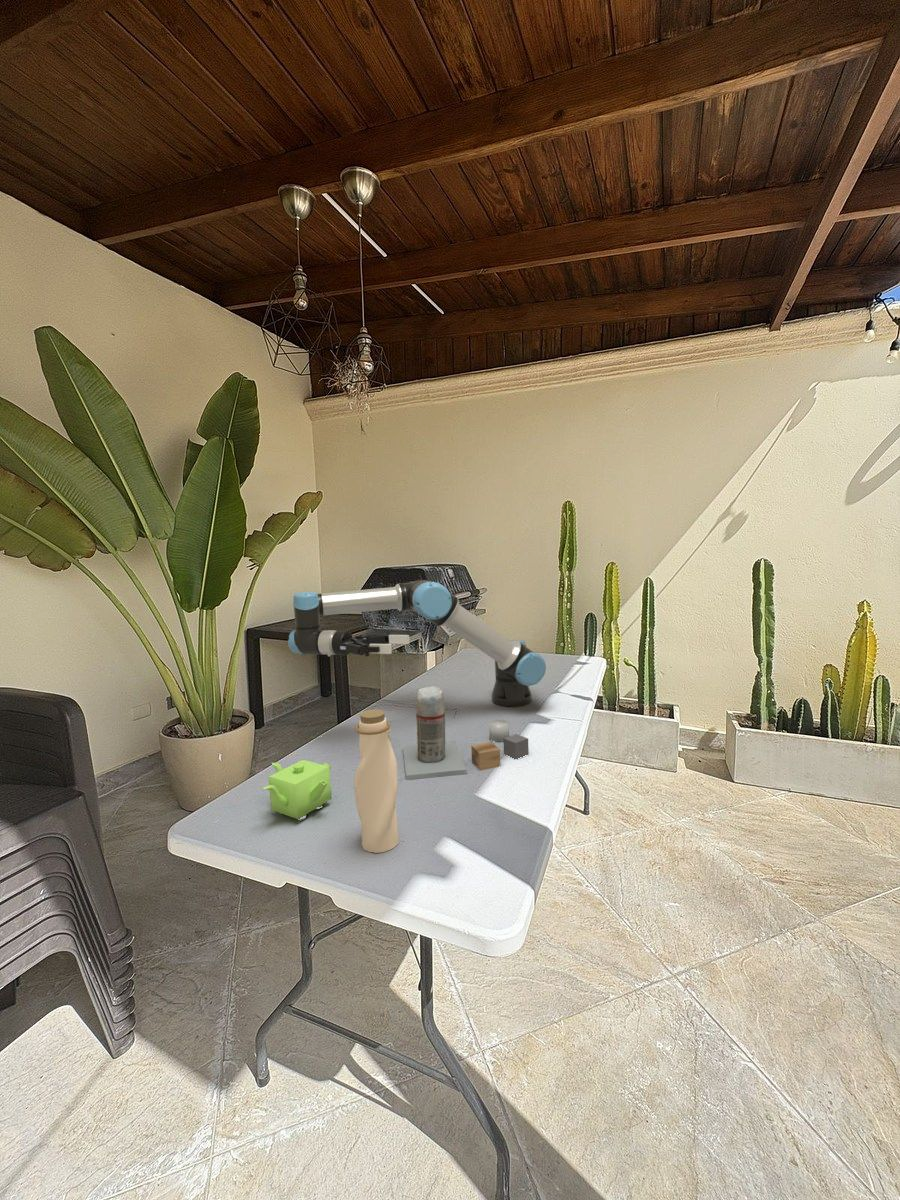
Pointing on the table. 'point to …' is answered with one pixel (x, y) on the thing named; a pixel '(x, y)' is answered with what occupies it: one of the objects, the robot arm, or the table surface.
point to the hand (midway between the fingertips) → (400, 644)
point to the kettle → (299, 788)
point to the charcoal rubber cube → (516, 746)
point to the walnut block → (485, 755)
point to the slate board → (433, 763)
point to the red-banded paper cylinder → (430, 724)
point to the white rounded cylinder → (498, 730)
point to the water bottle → (376, 783)
